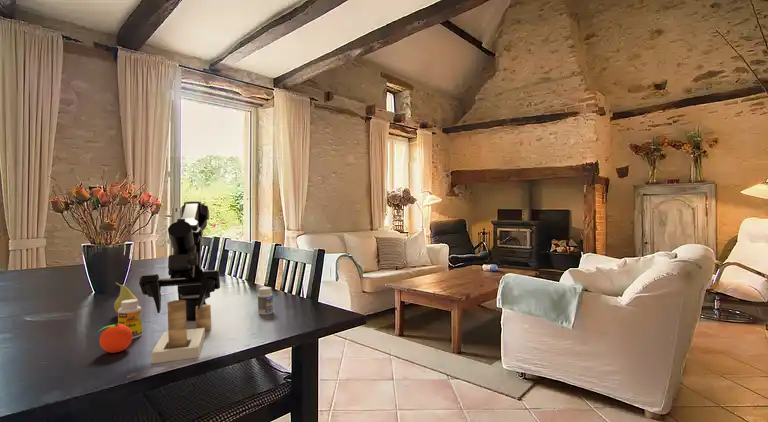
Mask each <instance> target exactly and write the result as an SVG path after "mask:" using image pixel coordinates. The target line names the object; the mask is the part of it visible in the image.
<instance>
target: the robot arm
mask: <svg viewBox="0 0 768 422" xmlns="http://www.w3.org/2000/svg"><path fill="white" fill-rule="evenodd" d="M180 213H181V215H180V216H181V218H177V220H176V221H175V222H173V223H171V224H170V225H169V227H168V228H167V232H168V233H167V234H168V238H169V240H170V241H169V242H170V246H171V248H172V249H173V250H172V251H173V252H172V254H170V255H169V254H168V255H167V257H168V259H167V261H168V262H167V268H168V272H167V274H168V276H170V277H168V278H160V276H159V273H153V274H152V273H151V274H143V275H141V276H140V277H139V282H138V284H139V287H140V289H141V293H142V294H143V295H145V296H148V297H149V298H152V299H153V301H154V303H155V308H156V312H157V314H161V308H162V307H161V306H162V293H161V289H162V288H163V287H174V286H176V287H177V295H178V296H177V298H178V299H177V300H185V301H186V321H196V306H198V309H200V308H201V306H202V305H207V302H206V300H208V299H209V298H211V293H213V292H215V291H216V290H219V289H220V288H221V278H220V277H221V276H220V271H219V270H217V269H212V270H203V269H202V268H201V266H202V243H203V242H202V241H203V240H202V239H203V238H202V237H203V236H204V230H205V229H206V228H207V226H208V221H209V220H210V210H209V206H207V205H205V204H203V203H202V201H199V200H187V201H184V202H183V205H182V206H181V211H180Z"/></svg>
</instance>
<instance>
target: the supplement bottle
mask: <svg viewBox="0 0 768 422" xmlns="http://www.w3.org/2000/svg"><path fill="white" fill-rule="evenodd" d="M137 299H138V298H137ZM137 299H130V300H124V301H122V302H121V307H122V308H120V309H119V310H118V313H117V322H118V323H117V324H123V325H126V326H127V327H129V328H130V329H131V331H132V335H133V336H132V340H133V339H134V340H135V339H136V338H139V337H141V336H142V334H143V320H142V319H143V318H142V317H143V316H142V315H143V314H142V306H140V305H139V304H138V302H139V299H138V300H137Z"/></svg>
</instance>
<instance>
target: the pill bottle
mask: <svg viewBox="0 0 768 422" xmlns="http://www.w3.org/2000/svg"><path fill="white" fill-rule="evenodd" d="M258 293H259V294H258V295H257V308H258V309H257V311H258V312H257V313H258V315H271V314H272V313H273V312H274V305H273V303H274V300H273V298H274V297H273V293H272V287H270V286H264V287H259V289H258Z"/></svg>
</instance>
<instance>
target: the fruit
mask: <svg viewBox="0 0 768 422" xmlns="http://www.w3.org/2000/svg"><path fill="white" fill-rule="evenodd" d="M115 285H118V286H119V288H120V290H119V291H120V292H119V295H118V297H117V298H116V299H115V302H114V304H113V308H114V309H113V310H114V311H115V312H116V314H118V310H119V309H120V308H122V307H121V302H122V301H124V300H130V299H137V300H138V305H139V298H137V297H136V296H135V295H134V294H133V293H132V292H131V290H129V288H128V287H127V286H125V285H123V284H120V283H118V282H117V281H116V282H115Z"/></svg>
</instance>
